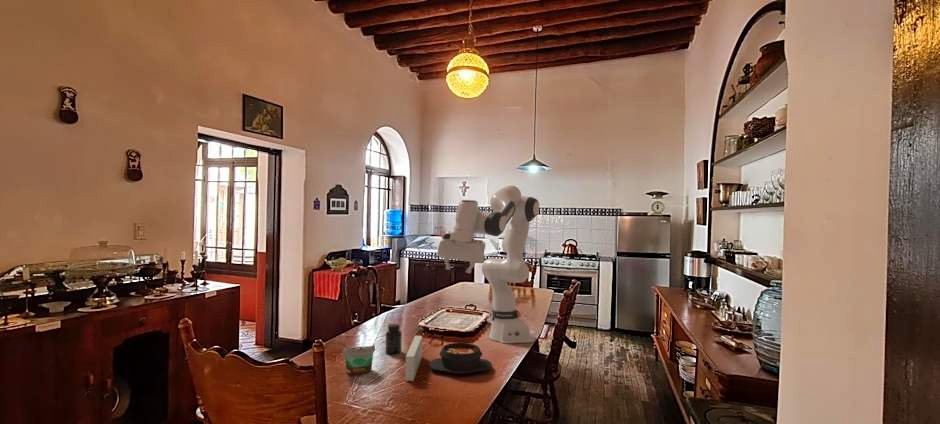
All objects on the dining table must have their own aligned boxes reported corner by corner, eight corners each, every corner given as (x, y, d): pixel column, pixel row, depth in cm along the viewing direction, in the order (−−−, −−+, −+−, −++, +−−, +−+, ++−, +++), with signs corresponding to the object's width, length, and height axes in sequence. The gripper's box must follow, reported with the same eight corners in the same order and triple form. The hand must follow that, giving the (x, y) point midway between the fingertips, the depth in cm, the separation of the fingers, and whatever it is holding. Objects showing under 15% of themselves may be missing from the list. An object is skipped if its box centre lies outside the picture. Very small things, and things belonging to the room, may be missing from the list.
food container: (345, 379, 162) (346, 352, 162) (342, 373, 168) (343, 347, 168) (378, 373, 168) (379, 347, 168) (374, 368, 173) (374, 343, 173)
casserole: (490, 361, 184) (491, 341, 184) (493, 378, 165) (493, 356, 165) (431, 360, 184) (431, 340, 184) (426, 377, 165) (427, 355, 165)
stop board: (421, 356, 188) (422, 335, 188) (413, 380, 162) (413, 356, 162) (414, 356, 188) (415, 335, 188) (405, 380, 162) (405, 356, 162)
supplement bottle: (395, 348, 198) (395, 322, 197) (404, 352, 193) (404, 325, 193) (382, 352, 193) (382, 325, 192) (391, 356, 188) (392, 328, 188)
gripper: (489, 241, 180) (484, 275, 178) (445, 236, 189) (440, 268, 187) (482, 239, 174) (477, 274, 172) (438, 234, 183) (433, 267, 181)
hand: (457, 271), depth 180 cm, fingers open, 8 cm apart
